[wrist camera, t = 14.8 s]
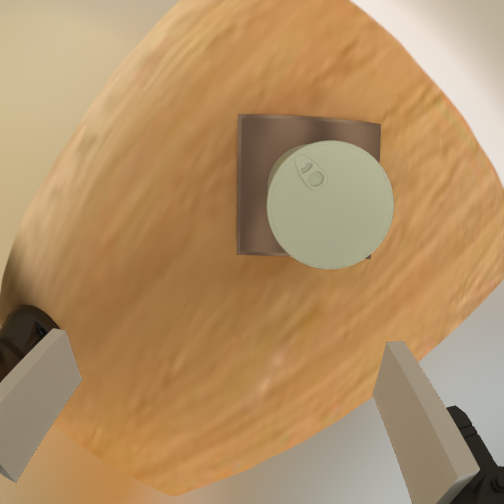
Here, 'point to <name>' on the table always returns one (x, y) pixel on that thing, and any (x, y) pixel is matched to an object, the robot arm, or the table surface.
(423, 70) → the table surface
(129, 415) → the table surface
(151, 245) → the table surface
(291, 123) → the brown flat square block
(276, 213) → the can
